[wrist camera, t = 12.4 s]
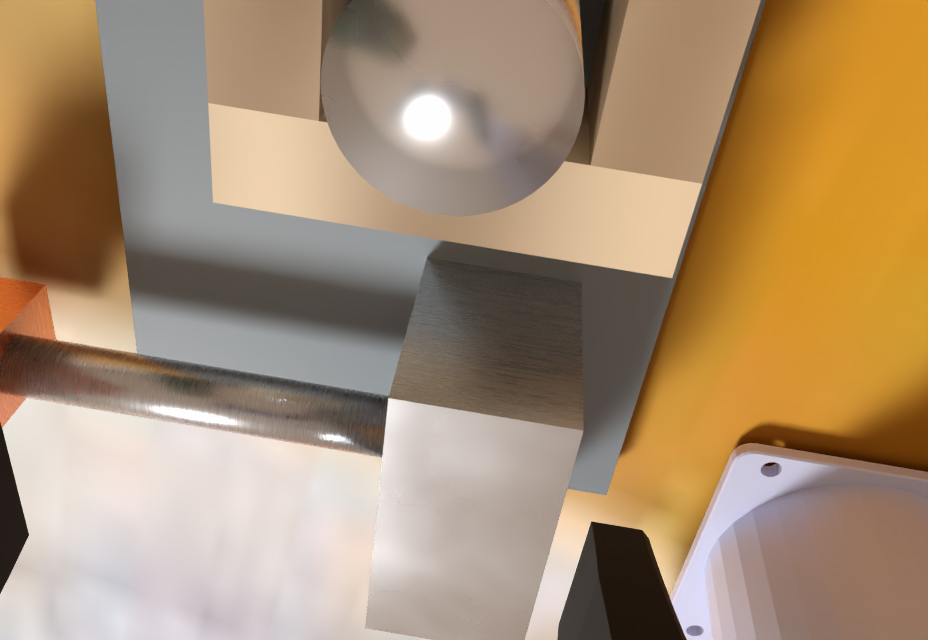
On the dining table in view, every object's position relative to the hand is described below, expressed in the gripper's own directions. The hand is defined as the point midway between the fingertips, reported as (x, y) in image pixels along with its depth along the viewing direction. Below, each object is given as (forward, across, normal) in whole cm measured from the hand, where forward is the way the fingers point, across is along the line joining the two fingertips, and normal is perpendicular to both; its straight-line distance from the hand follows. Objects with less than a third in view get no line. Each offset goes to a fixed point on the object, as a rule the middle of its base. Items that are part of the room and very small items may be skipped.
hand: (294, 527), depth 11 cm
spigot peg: (+9, -1, -5) cm, 11 cm away
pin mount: (+9, -2, +5) cm, 11 cm away
